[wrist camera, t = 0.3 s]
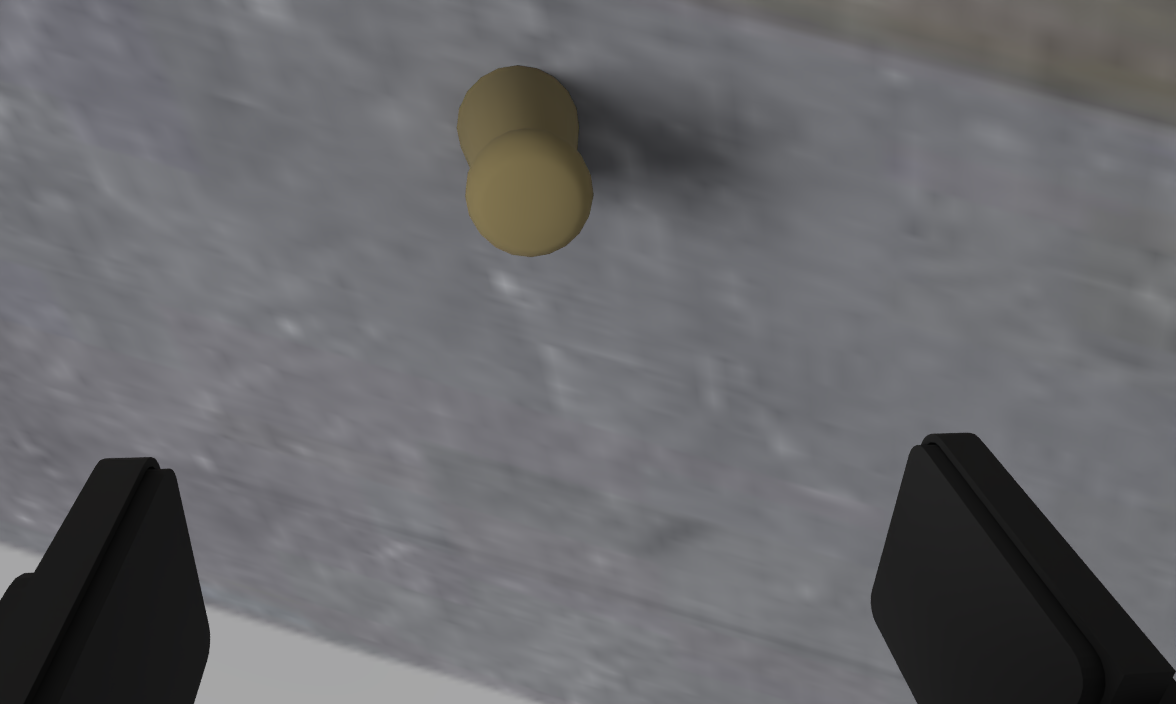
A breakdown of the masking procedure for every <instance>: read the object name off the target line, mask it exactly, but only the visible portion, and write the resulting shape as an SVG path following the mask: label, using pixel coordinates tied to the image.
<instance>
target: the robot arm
mask: <svg viewBox="0 0 1176 704" xmlns="http://www.w3.org/2000/svg"><path fill="white" fill-rule="evenodd" d="M871 608H872V613H873V617H874V620H875V622H876V624H877V626H878V628H879V630H880V632H881V634H882V636H883V638H884V640H885V642H886V644H887V646H888V647H889V649H890V651H891V653H892V655H893V657H894V659H895V661H896V663H897V665H898V667H899V669H900V671H901V673H902V675H903V676H904V678H905V680H906V682H907V684H908V686H909V688H910V690H911V692H912V694H913V696H914V698H915V700H916V702H917V704H1176V681H1175V680H1174V679H1173V676H1174V674H1175V672H1176V671H1175V670H1174V669H1173V667H1172V666H1171V665H1170V664H1169V663H1168V661H1167V660H1166V659H1165V658H1164V657H1163V655H1162V654H1161V653H1160V652H1159V651H1158V650H1157V648H1156V647H1155V646H1154V645H1153V644H1152V642H1151V641H1150V640H1149V639H1148V638H1147V636H1146V635H1145V634H1144V633H1143V632H1142V631H1141V629H1140V628H1139V627H1138V626H1137V625H1136V623H1135V622H1134V621H1133V620H1132V619H1131V617H1130V616H1129V615H1128V614H1127V613H1126V612H1125V610H1124V609H1123V608H1122V607H1121V606H1120V604H1119V603H1118V602H1117V601H1116V600H1115V598H1114V597H1113V596H1112V595H1111V594H1110V593H1109V591H1108V590H1107V589H1106V588H1105V587H1104V585H1103V584H1102V583H1101V582H1100V581H1099V579H1098V578H1097V577H1096V576H1095V575H1094V574H1093V572H1092V571H1091V570H1090V569H1089V568H1088V566H1087V565H1086V564H1085V563H1084V562H1083V560H1082V559H1081V558H1080V557H1079V556H1078V555H1077V553H1076V552H1075V551H1074V550H1073V549H1072V547H1071V546H1070V545H1069V544H1068V543H1067V542H1066V540H1065V539H1064V538H1063V537H1062V536H1061V534H1060V533H1059V532H1058V531H1057V530H1056V528H1055V527H1054V526H1053V525H1052V524H1051V523H1050V521H1049V520H1048V519H1047V518H1046V517H1045V515H1044V514H1043V513H1042V512H1041V511H1040V509H1039V508H1038V507H1037V506H1036V505H1035V504H1034V502H1033V501H1032V500H1031V499H1030V498H1029V496H1028V495H1027V494H1026V493H1025V492H1024V490H1023V489H1022V488H1021V487H1020V486H1019V485H1018V483H1017V482H1016V481H1015V480H1014V479H1013V477H1012V476H1011V475H1010V474H1009V473H1008V471H1007V470H1006V469H1005V468H1004V467H1003V466H1002V464H1001V463H1000V462H999V461H998V460H997V458H996V457H995V456H994V455H993V454H992V452H991V451H990V450H989V449H988V448H987V447H986V445H985V444H984V443H983V442H982V441H981V439H980V438H979V437H977V436H976V435H975V434H972V433H943V434H930V435H927V436H926V437H925V438H924V440H923V441H922V444H921V445H916V446H914V447H913V448H912V449H911V451H910V454H909V457H908V460H907V464H906V468H905V471H904V475H903V479H902V483H901V486H900V490H899V494H898V497H897V501H896V505H895V508H894V512H893V516H892V519H891V523H890V527H889V530H888V534H887V538H886V541H885V545H884V549H883V552H882V556H881V560H880V563H879V567H878V571H877V574H876V578H875V582H874V585H873V589H872V593H871ZM209 648H210V630H209V624H208V619H207V615H206V610H205V606H204V601H203V596H202V592H201V587H200V583H199V578H198V574H197V569H196V565H195V560H194V556H193V551H192V546H191V542H190V537H189V533H188V528H187V524H186V519H185V515H184V510H183V506H182V501H181V497H180V492H179V487H178V483H177V479H176V475H175V473H174V471H173V470H172V469H160V466H159V464H158V462H157V460H156V459H155V458H152V457H140V458H106V459H102V460H100V461H99V462H98V464H97V465H96V466H95V468H94V470H93V471H92V473H91V475H90V477H89V478H88V480H87V482H86V484H85V485H84V487H83V489H82V491H81V492H80V494H79V496H78V497H77V499H76V501H75V503H74V504H73V506H72V508H71V510H70V511H69V513H68V515H67V517H66V518H65V520H64V522H63V523H62V525H61V527H60V529H59V530H58V532H57V534H56V536H55V537H54V539H53V541H52V542H51V544H50V546H49V548H48V549H47V551H46V553H45V555H44V556H43V558H42V560H41V562H40V563H39V565H38V567H37V569H36V570H35V572H34V573H24V574H22V575H20V576H19V577H17V578H15V580H14V581H13V582H12V584H11V585H10V586H9V587H8V589H7V590H6V592H5V593H4V595H3V597H2V598H1V600H0V704H194V701H195V698H196V695H197V691H198V689H199V685H200V682H201V679H202V675H203V672H204V669H205V666H206V662H207V659H208V654H209Z"/></svg>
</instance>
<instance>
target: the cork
mask: <svg viewBox="0 0 1176 704" xmlns="http://www.w3.org/2000/svg"><path fill="white" fill-rule="evenodd" d="M457 131H458V136H459V141H460V145H461V148H462V151H463V153H464V155H465V157H466V160H467V162H468V164H469V167H470V170H469V172H468V177H467V185H466V194H465V197H466V202H467V207H468V212H469V216H470V217H471V219H472V221H473V222H474V224H475V226H476V228H477V229H478V231H479V232H480V234H481V235H482V236H483V237H484V238H486V239H487V240H488V241H489V242H490V243H491V244H492V245H494V246H495V247H496V248H498V249H501V250H503V251H505V252H507V253H510V254H512V255H519V256H527V257H534V256H540V255H546V254H550V253H552V252H554V251H556V250H558V249H560V248H563V247H565V246H566V245H567V244H568V243H570V242H571V241H572V240H573V239H574V238H575V237H576V236H577V235H578V234H579V233H580V231H581V230H582V228H583V226H584V224H585V222H586V221H587V219H588V217H589V214H590V210H591V205H592V200H593V188H592V180H591V175H590V173H589V170H588V168H587V166H586V164H585V162H584V160H583V158H582V156H581V154H580V153H579V152H578V151H577V146H578V133H579V124H578V117H577V109H576V107H575V105H574V103H573V101H572V99H571V97H570V94H569V92H568V91H567V90H566V89H565V88H564V87H563V86H562V85H561V84H560V83H559V82H558V81H557V80H556V79H555V78H554V77H552V76H551V75H549V74H547V73H545V72H543V71H541V70H539V69H537V68H531V67H525V66H519V65H517V66H510V67H504V68H498V69H496V70H494V71H492V72H490V73H489V74H487V75H485V76H483V77H481V78H480V79H479V80H478V81H477V82H476V83H475V84H474V85H473V86H472V87H471V88H470V89H469V90H468V91H467V93H466V95H465V98H464V100H463V102H462V104H461V106H460V108H459V114H458V123H457Z"/></svg>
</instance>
